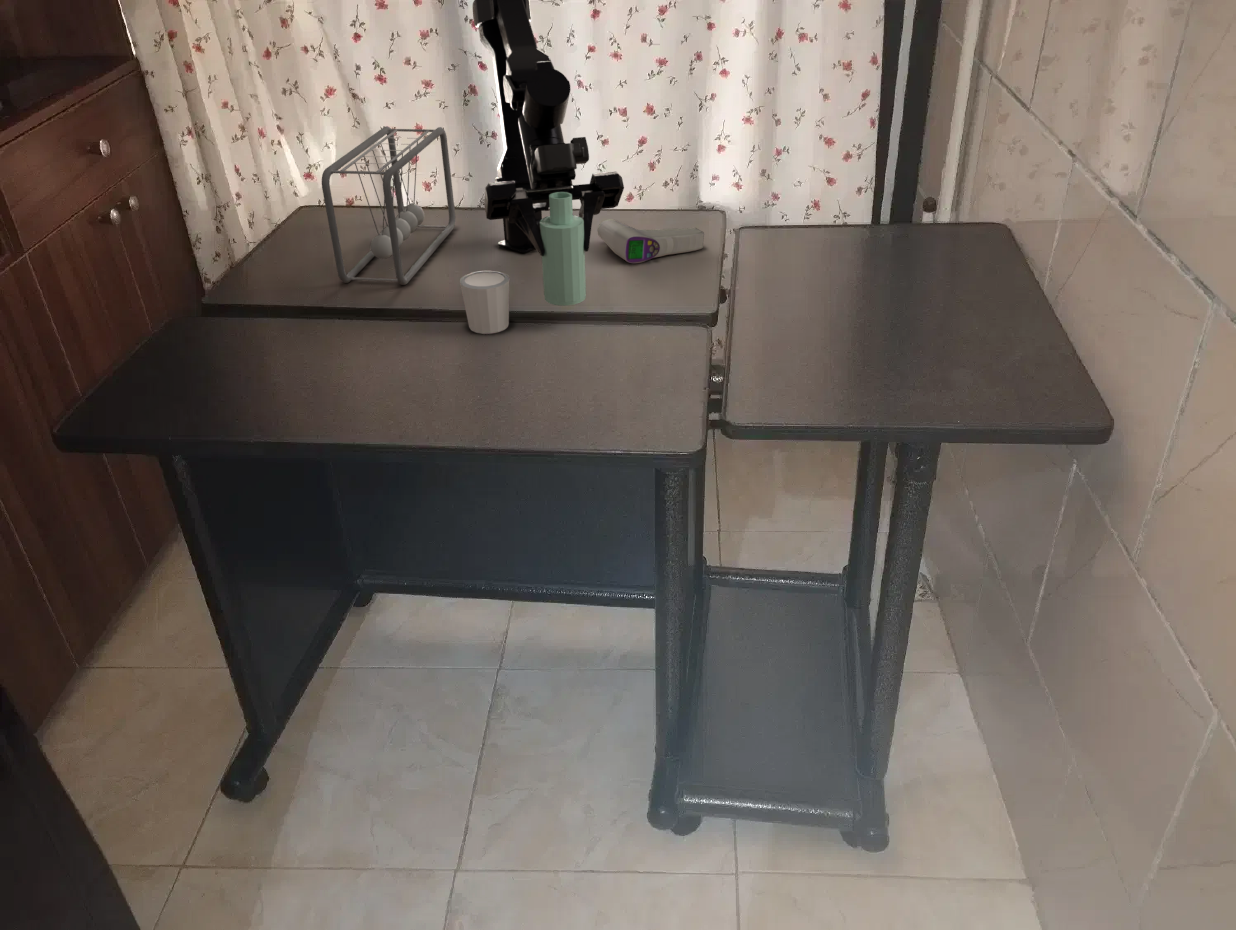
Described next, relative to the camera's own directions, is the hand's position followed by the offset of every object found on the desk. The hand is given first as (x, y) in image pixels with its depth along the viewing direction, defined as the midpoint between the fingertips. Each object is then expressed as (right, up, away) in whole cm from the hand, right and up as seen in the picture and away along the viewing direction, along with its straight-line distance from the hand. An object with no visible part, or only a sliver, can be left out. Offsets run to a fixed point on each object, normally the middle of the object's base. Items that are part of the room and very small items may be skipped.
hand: (564, 252), depth 130 cm
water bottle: (0, -5, +5) cm, 7 cm away
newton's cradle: (-29, +6, +31) cm, 43 cm away
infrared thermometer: (+13, +8, +32) cm, 36 cm away
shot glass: (-11, -9, +6) cm, 16 cm away
